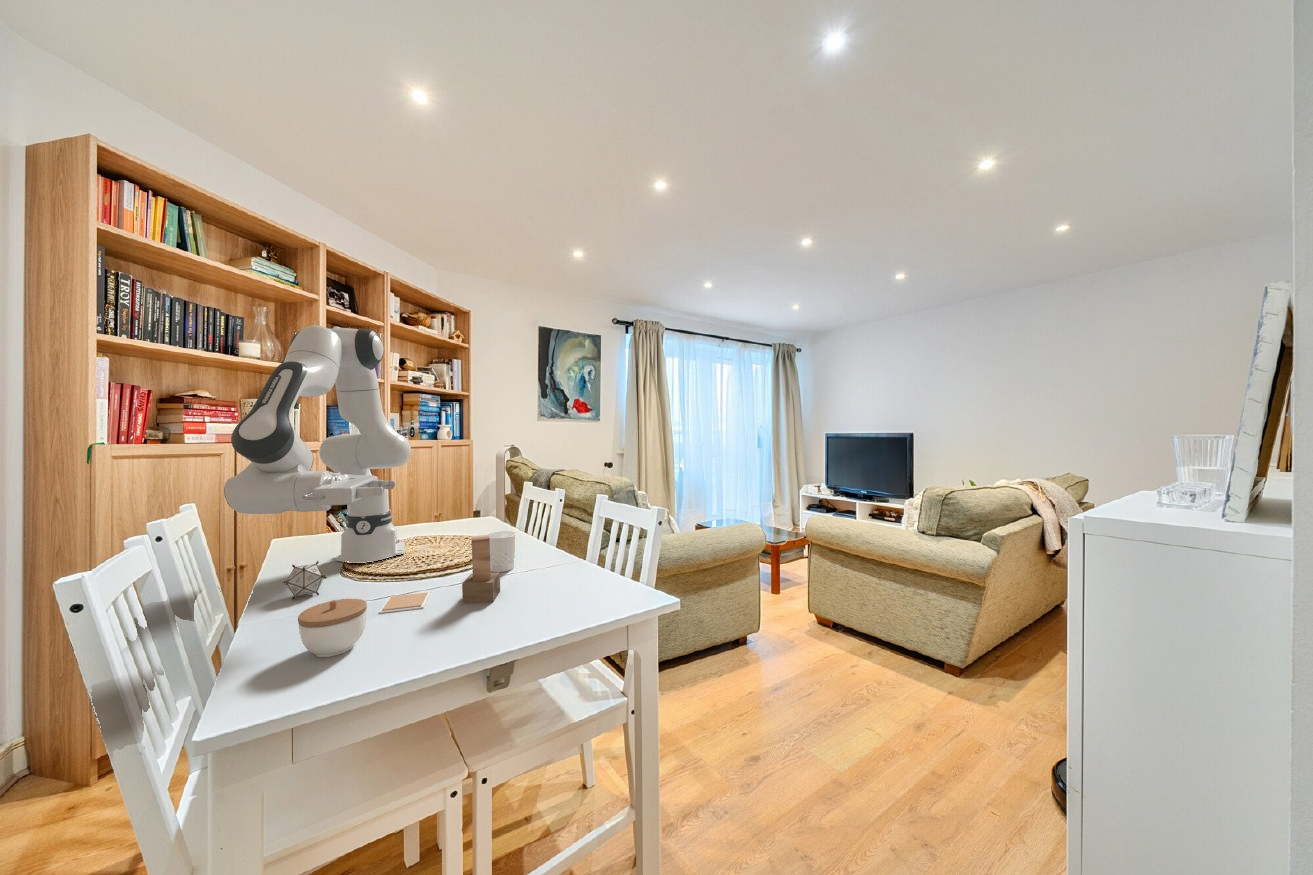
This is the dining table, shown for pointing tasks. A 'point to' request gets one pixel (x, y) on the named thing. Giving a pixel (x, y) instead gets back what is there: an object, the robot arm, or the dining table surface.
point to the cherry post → (481, 558)
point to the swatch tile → (405, 602)
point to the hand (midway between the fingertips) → (389, 487)
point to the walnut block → (481, 589)
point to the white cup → (502, 551)
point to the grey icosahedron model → (305, 580)
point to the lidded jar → (332, 626)
